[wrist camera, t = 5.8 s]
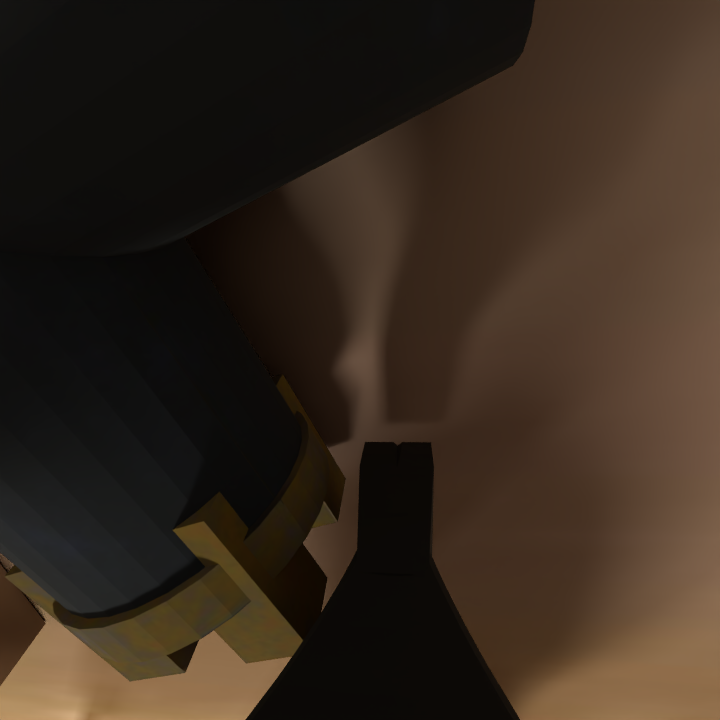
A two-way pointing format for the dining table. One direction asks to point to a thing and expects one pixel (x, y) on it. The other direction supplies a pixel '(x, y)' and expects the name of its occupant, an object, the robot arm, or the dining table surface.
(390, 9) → the pipe connector
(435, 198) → the dining table surface
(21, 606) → the bar
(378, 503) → the robot arm
